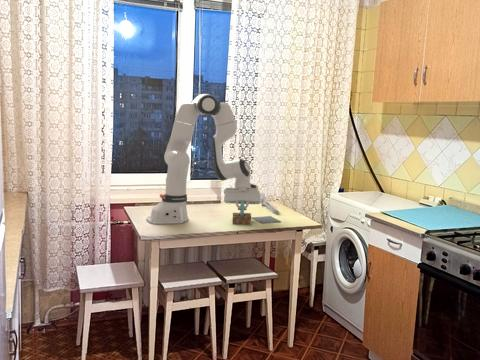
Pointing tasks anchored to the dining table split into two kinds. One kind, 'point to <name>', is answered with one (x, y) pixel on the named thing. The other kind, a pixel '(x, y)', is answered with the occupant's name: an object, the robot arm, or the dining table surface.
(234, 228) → the dining table surface
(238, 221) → the slot holder
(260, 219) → the rubber mat
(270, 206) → the wrench
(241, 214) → the scraper tool
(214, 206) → the dining table surface
